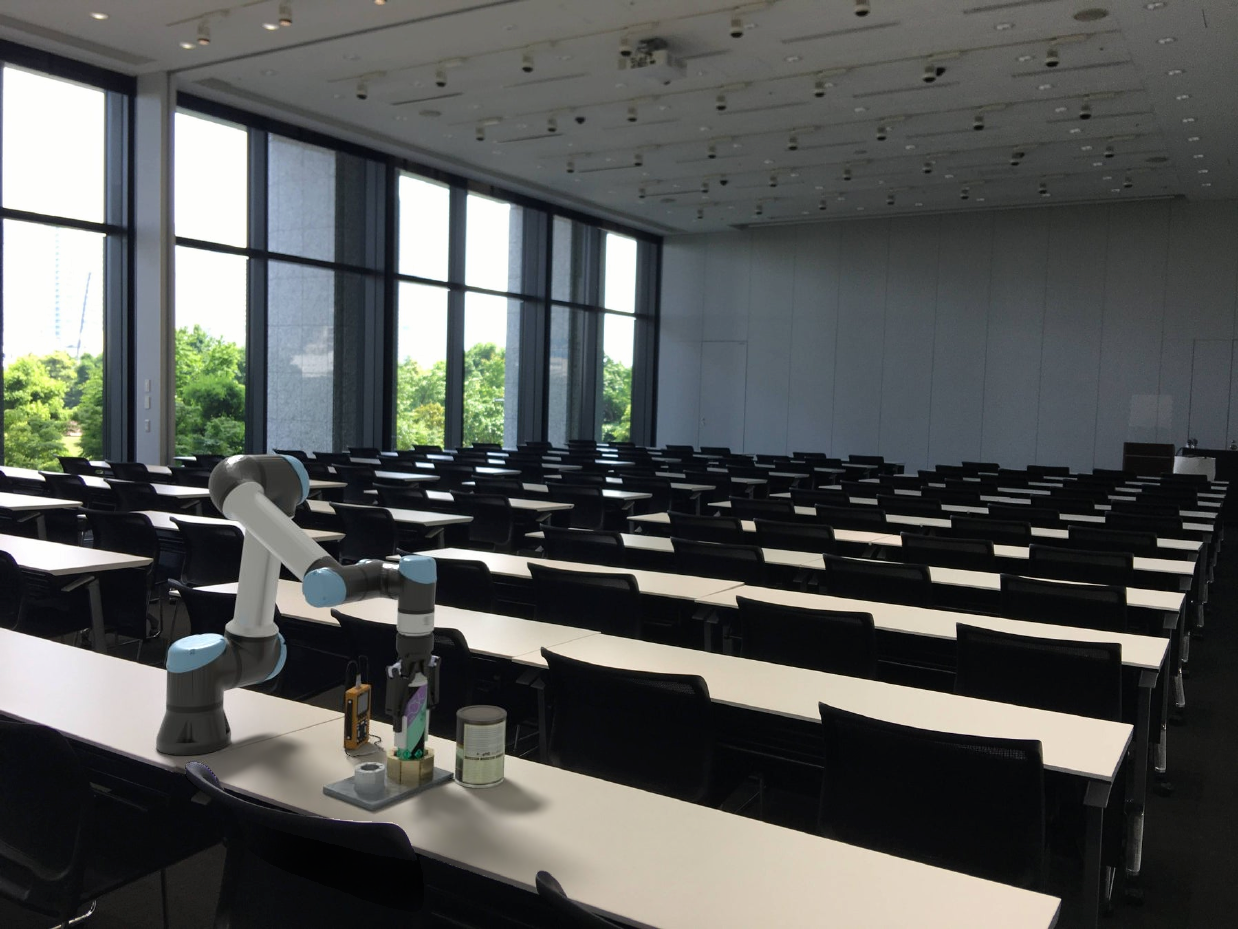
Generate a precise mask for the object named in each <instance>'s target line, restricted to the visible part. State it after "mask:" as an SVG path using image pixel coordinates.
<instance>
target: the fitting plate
mask: <svg viewBox="0 0 1238 929" xmlns="http://www.w3.org/2000/svg"><path fill="white" fill-rule="evenodd" d="M397 751H398V747H394V748H390V749H388V750H387V755H386V757H387V758H386V759H387V760H386V764H383V763H380V762H369V761H368V762H362V763H359V764H357V765H355V768H354V775H353V776H350V777H347V778H343V779H341V780H339V781H336V782H334V783H332V782H331V783H330V784H326V785H324V786H323V787H322V793H323V794H325V795H328V796H330V797H333V798H335V799H339V800H341V801H344V802H346V803H349V804H351V805H355V806H357V807H360V808H362V809H366V810H368V811H370V812H374V811H377V810H379V809H381V808H383V807H386V806H389V805H392V804H394V803H396V802H398V801H401V800H404V799H406V798H409V797H411V796H414V795H416V794H418V793H421V792H423V791H426V790H428V789H431V788H434V787H437V786H439V785H441V784H444V783H446V782H449V781H451V780H454V779H453V778H455V772H452V771H449V770H446V769H443V768H440V767H437V766H435V749H434V748H432V747H429V746H428V747H427V746H425V754H424V757H422V758H419V759H402V758H399V757H397Z"/></svg>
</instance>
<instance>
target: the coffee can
mask: <svg viewBox="0 0 1238 929" xmlns="http://www.w3.org/2000/svg"><path fill="white" fill-rule="evenodd" d="M507 716H508V712H507V711H506V710H505V709H504V708H503V707H502V708H501V707H499V706H494V705H485V704H484V705H483V704H478V705H477V704H476V705H469V706H465V707H461V708H459V709H458V710H457V712H456V739H455V765H454V768H455V770H454V779H453V780H454V782H455V783H456V784H457V785H458V786H461V785H462V787H465V788H469V787H472V788H471V789H486V787H488V788H493V787H496V786H498V785H500V784H502V783H503V782H504V780H505V777H504V776H505V775H504V773H505V755H506V754H505V751H506V750H505V749H506V732H507V731H506V730H507V729H506V727H507Z"/></svg>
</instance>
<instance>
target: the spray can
mask: <svg viewBox="0 0 1238 929" xmlns="http://www.w3.org/2000/svg"><path fill="white" fill-rule="evenodd" d="M403 678H405V679H408V678H407V677H403ZM426 679H427V677H425V676H424V675H423V674H421V672H420V673H419V671H416V675H415V679H414V680H413V681H412V683H411V684H409V692H408V701H407V705H406V709H405V714H404V716H407V738H406V748H405V749H401V748H398V751H397V757H399V758H402V759H419V758H422V757H424V754H425V747H426V742H425V728H426V703H427V680H426Z"/></svg>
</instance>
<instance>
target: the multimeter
mask: <svg viewBox="0 0 1238 929" xmlns="http://www.w3.org/2000/svg"><path fill="white" fill-rule="evenodd" d="M361 657H362V658H363V657H364V658H365V660H366V662H367V668H366V683H367V684H362V681H361V676H362V675H361V661H360V659H361ZM351 663H354V664H355V665H356V682H355V686H353V687H352V688H350V689H348V690H347V678H348V676H347V675H348V670H349V666H350V664H351ZM358 664H359V665H358ZM369 668H370V667H369V659H368V657H367V656H366V655H364V654H363V655H359V656H358V663H357V661H355V660H351V661H349V663H348V664H347V666H346V670H345V678H344V716H343V717H344V718H343V720H344V721H343V724H344V725H343V749H344V752H345V754H346V755H347V756H349V757H350V756H353V757H352V758H356V756H357V757H362V756H367V754H368V755H372V754H373V753H377V752H379V750H374V751H372V750H370V751H367V752H362V753H360V754H357V755H350V754H349V753H348V751H347V750H350V749H352V751H356V750H357V749H358V748H359V747H361V746H362V745H364V744H366V743H367V742H369V741H370V740H369V739H370V737H374V736H375V737H376V738H378V739H379V740H377V741H374V742H373V744H374V745H375V746H376V747H377V748H378V749H380V750H381V751H382V752H383V751H384V752H385V753H388V750H385V748H384V747H382V746H381V745H378V744H377V743H379V742H381V741H382V737H380V736H378V735H373V734H370V720H371V694H372V693H371V692H372V691H371V690H372V686H371V684H369Z"/></svg>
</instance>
